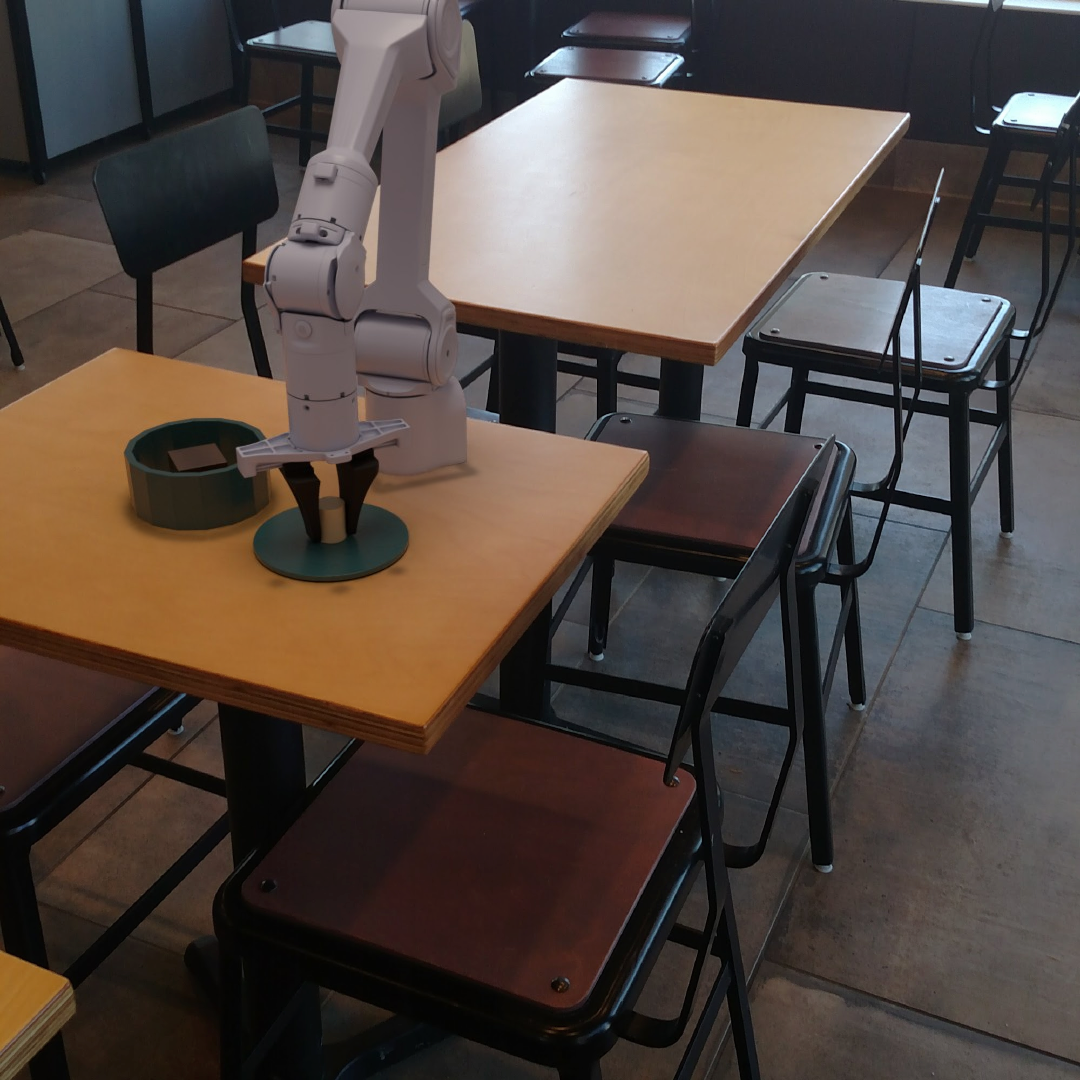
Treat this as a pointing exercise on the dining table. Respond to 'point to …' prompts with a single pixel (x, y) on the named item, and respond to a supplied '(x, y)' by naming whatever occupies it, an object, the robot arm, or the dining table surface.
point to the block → (196, 459)
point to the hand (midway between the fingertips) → (331, 533)
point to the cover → (331, 543)
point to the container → (194, 476)
